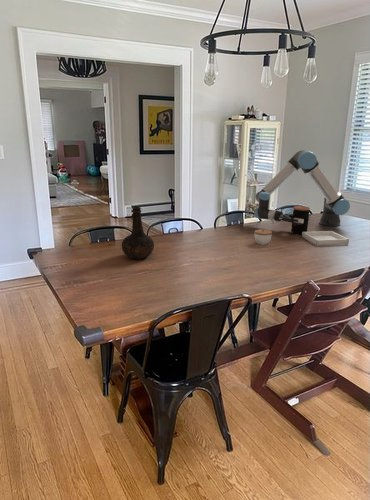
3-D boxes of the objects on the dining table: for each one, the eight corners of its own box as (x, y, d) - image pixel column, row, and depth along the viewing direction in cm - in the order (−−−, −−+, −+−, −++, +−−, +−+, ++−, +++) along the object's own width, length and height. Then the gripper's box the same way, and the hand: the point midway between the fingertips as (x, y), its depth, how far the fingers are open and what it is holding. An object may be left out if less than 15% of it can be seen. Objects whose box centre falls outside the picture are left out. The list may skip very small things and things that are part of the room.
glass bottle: (147, 250, 219) (146, 203, 210) (159, 259, 203) (158, 208, 195) (118, 254, 211) (115, 205, 203) (127, 263, 196) (125, 211, 187)
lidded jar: (266, 246, 227) (267, 231, 224) (250, 243, 233) (251, 229, 231) (274, 243, 235) (275, 228, 233) (258, 240, 242) (259, 226, 239)
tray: (330, 235, 253) (331, 230, 252) (348, 244, 233) (349, 239, 232) (301, 236, 250) (302, 231, 249) (316, 245, 230) (317, 240, 229)
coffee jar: (287, 232, 262) (290, 206, 256) (299, 230, 266) (302, 205, 261) (298, 235, 252) (300, 209, 247) (310, 234, 257) (313, 208, 251)
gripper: (281, 218, 276) (311, 222, 264) (268, 223, 259) (299, 228, 246) (282, 208, 274) (312, 211, 262) (269, 213, 256) (300, 217, 244)
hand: (306, 219), depth 254 cm, fingers closed on coffee jar, 11 cm apart
